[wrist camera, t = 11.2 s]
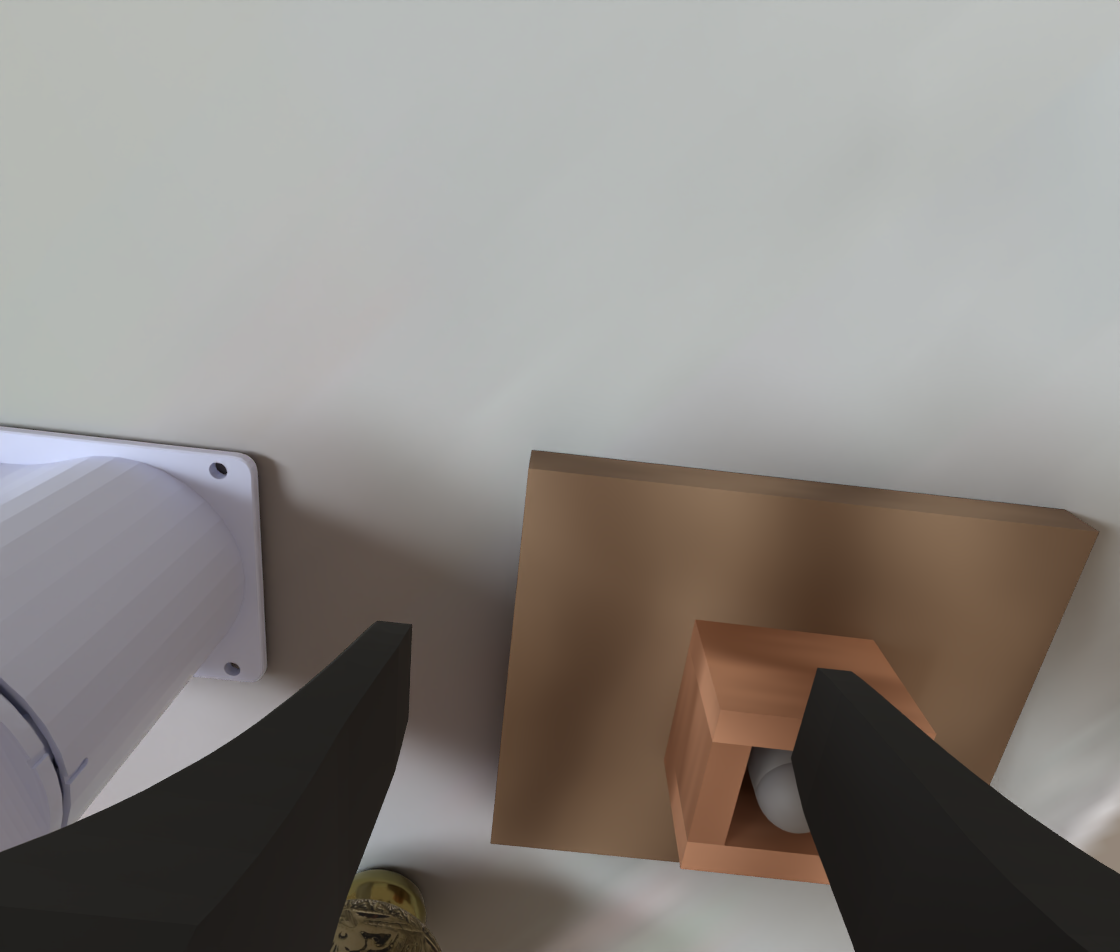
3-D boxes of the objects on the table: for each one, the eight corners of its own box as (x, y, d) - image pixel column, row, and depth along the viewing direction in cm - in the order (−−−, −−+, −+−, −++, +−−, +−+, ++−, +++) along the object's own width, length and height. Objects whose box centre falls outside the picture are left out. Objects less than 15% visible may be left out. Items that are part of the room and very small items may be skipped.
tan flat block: (495, 808, 26) (473, 975, 20) (531, 450, 21) (515, 542, 15) (924, 852, 26) (1018, 1028, 21) (1065, 509, 21) (1238, 621, 16)
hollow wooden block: (663, 760, 23) (680, 868, 19) (695, 619, 21) (720, 709, 17) (827, 778, 23) (874, 889, 20) (873, 640, 21) (936, 734, 18)
